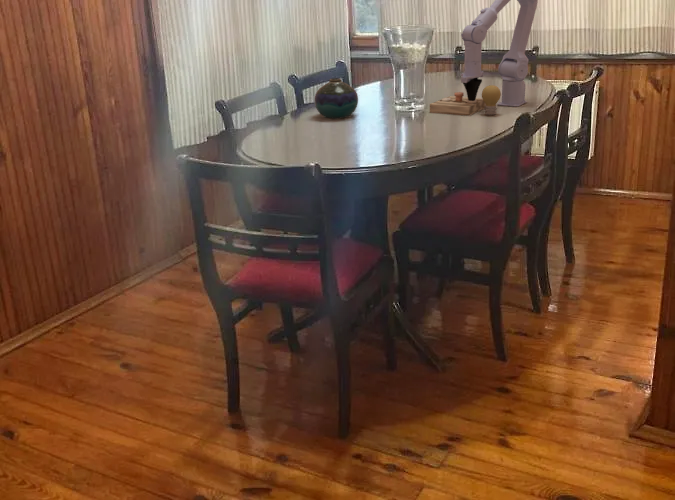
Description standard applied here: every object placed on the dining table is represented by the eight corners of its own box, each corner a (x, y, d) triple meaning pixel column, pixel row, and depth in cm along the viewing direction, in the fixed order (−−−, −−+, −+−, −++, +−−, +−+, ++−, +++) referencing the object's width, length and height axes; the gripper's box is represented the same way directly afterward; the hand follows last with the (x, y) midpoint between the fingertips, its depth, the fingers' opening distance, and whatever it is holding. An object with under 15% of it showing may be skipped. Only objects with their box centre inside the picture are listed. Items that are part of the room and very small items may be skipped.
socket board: (449, 104, 275) (449, 96, 274) (487, 107, 267) (487, 98, 266) (429, 112, 263) (429, 104, 262) (468, 115, 255) (468, 107, 254)
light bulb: (500, 116, 251) (501, 86, 248) (480, 116, 253) (481, 87, 249) (499, 112, 257) (501, 83, 253) (481, 112, 258) (482, 83, 255)
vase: (308, 120, 259) (306, 82, 254) (325, 111, 272) (323, 75, 267) (349, 122, 253) (348, 83, 248) (364, 113, 266) (363, 75, 261)
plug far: (444, 105, 269) (444, 97, 268) (452, 105, 267) (452, 98, 266) (440, 106, 267) (440, 99, 266) (448, 107, 265) (448, 99, 264)
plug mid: (456, 99, 266) (456, 91, 265) (464, 100, 264) (465, 92, 263) (452, 101, 263) (452, 93, 262) (461, 101, 261) (461, 94, 260)
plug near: (469, 107, 264) (469, 99, 263) (477, 107, 262) (477, 99, 261) (465, 108, 261) (465, 100, 260) (473, 109, 260) (474, 101, 259)
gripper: (470, 57, 263) (469, 96, 268) (453, 63, 252) (452, 103, 257) (489, 58, 260) (488, 97, 265) (472, 64, 248) (471, 104, 254)
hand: (471, 100), depth 261 cm, fingers closed, pressing on plug near
